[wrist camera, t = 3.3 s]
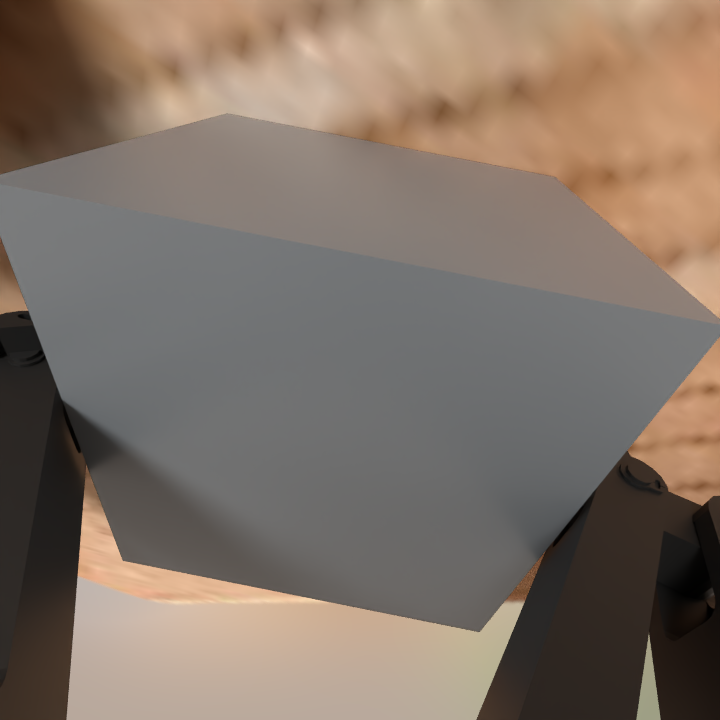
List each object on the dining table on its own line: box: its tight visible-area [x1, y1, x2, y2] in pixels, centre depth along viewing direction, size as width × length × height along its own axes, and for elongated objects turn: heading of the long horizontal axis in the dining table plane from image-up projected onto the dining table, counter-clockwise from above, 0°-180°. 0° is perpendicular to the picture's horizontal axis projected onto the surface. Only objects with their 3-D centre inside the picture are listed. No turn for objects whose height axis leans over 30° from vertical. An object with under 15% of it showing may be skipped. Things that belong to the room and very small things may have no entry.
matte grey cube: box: [0, 114, 720, 632], centre depth 12 cm, size 10×10×9 cm
